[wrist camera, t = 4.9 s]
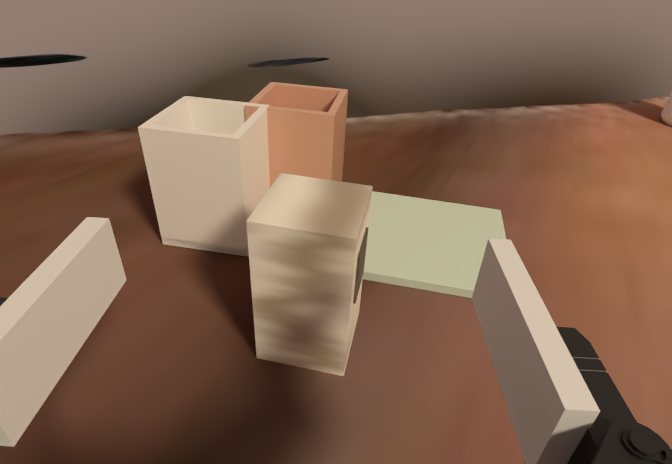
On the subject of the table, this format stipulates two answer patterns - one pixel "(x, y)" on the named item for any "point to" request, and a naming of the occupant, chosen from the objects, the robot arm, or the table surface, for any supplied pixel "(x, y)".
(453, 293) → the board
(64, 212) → the table surface
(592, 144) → the table surface
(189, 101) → the white open box
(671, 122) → the alcohol
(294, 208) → the beige rectangular block
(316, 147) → the terracotta open box
